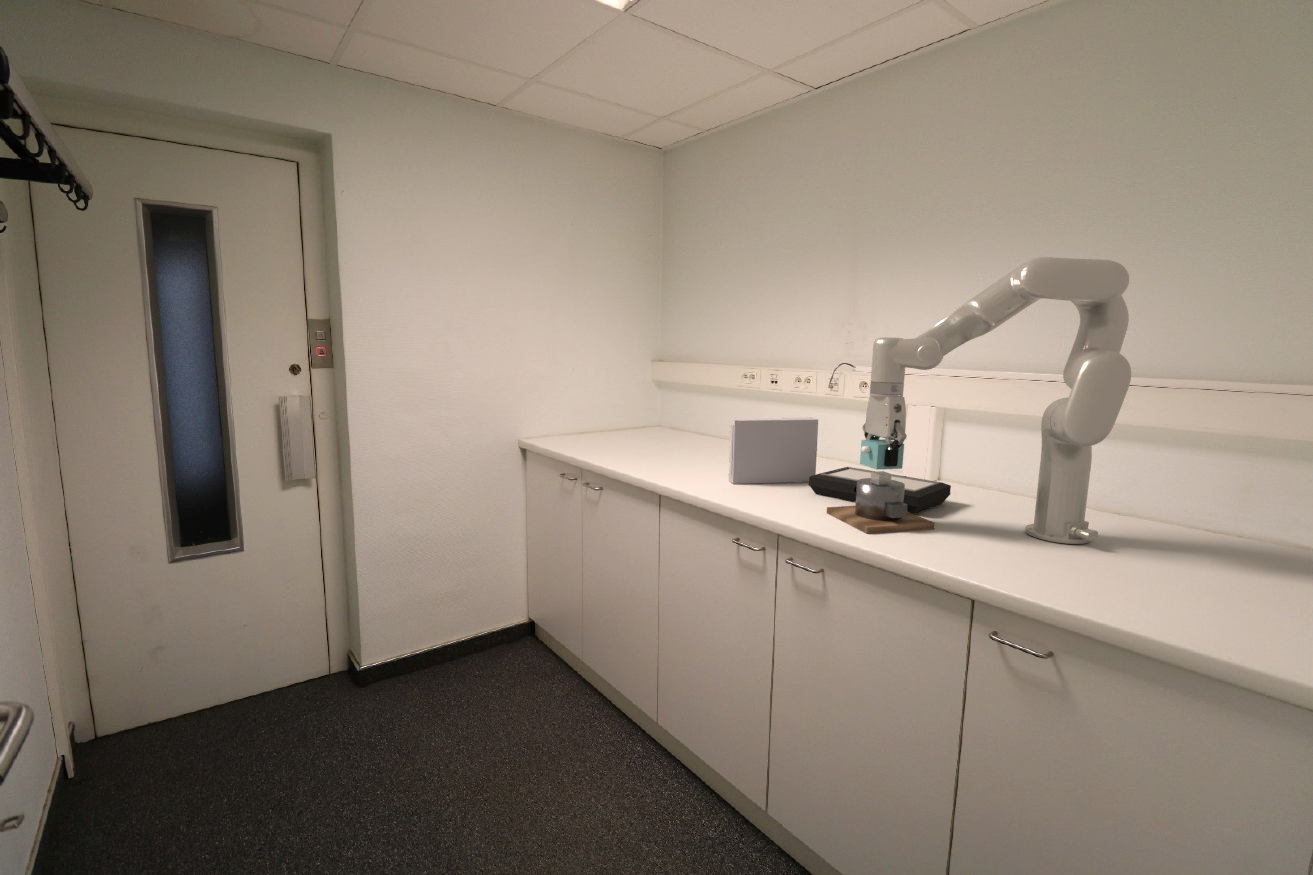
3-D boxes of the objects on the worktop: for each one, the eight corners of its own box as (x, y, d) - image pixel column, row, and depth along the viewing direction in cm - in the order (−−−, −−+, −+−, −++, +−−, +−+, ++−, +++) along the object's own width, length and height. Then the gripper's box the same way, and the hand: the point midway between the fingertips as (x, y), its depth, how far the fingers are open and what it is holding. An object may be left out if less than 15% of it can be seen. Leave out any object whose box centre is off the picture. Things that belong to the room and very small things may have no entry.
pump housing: (902, 468, 147) (904, 443, 146) (870, 469, 145) (872, 444, 144) (884, 463, 154) (886, 439, 153) (854, 464, 152) (855, 440, 151)
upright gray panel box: (727, 480, 196) (728, 418, 193) (807, 478, 200) (810, 417, 198) (732, 484, 190) (734, 420, 187) (815, 481, 195) (818, 419, 192)
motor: (919, 522, 145) (922, 478, 144) (878, 525, 143) (880, 480, 141) (884, 507, 158) (887, 467, 157) (846, 510, 156) (848, 469, 154)
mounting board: (934, 528, 145) (934, 522, 145) (866, 533, 141) (867, 527, 141) (888, 509, 163) (888, 503, 162) (826, 512, 158) (826, 507, 158)
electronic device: (809, 473, 178) (845, 465, 191) (808, 494, 178) (844, 484, 192) (918, 494, 154) (951, 482, 168) (917, 518, 155) (949, 504, 169)
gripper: (924, 392, 140) (917, 469, 142) (878, 387, 156) (873, 456, 159) (895, 392, 138) (889, 470, 141) (852, 387, 154) (847, 456, 157)
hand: (881, 462), depth 150 cm, fingers closed on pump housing, 7 cm apart
